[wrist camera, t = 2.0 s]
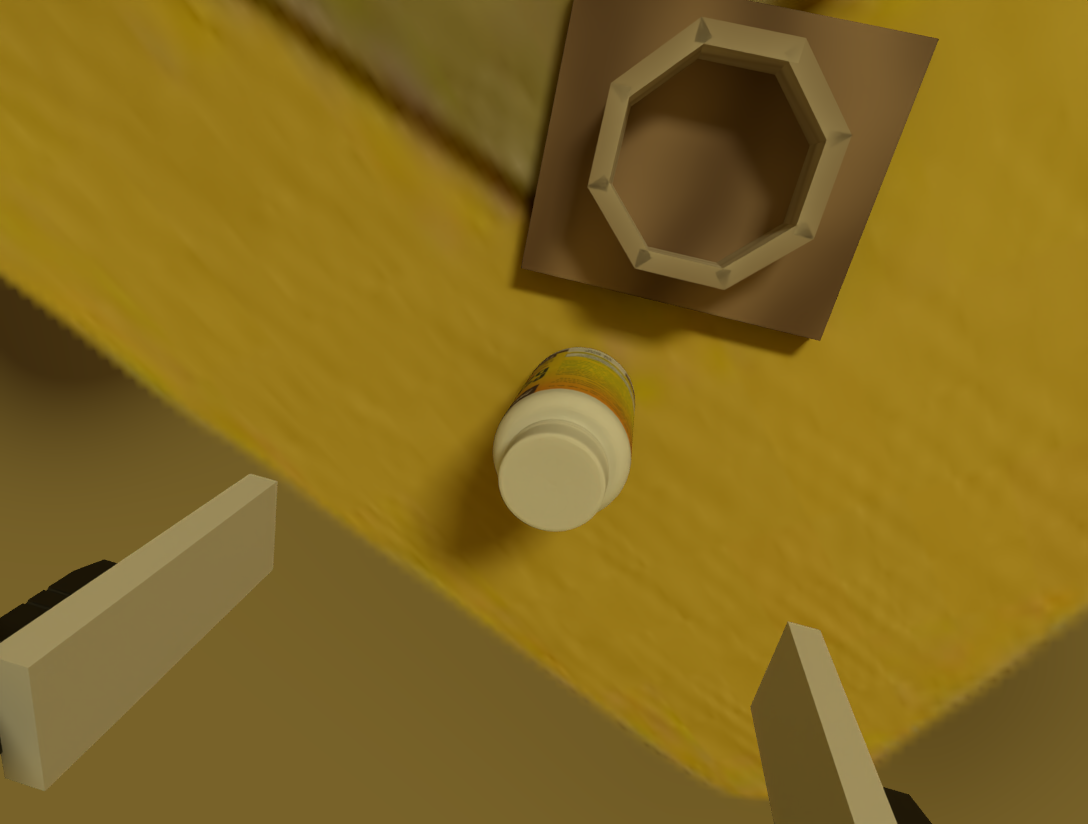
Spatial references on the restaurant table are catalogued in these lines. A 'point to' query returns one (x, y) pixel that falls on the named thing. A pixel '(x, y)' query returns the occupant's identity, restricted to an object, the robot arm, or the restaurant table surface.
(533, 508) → the supplement bottle
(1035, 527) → the restaurant table surface
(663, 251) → the holder
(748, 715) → the restaurant table surface
